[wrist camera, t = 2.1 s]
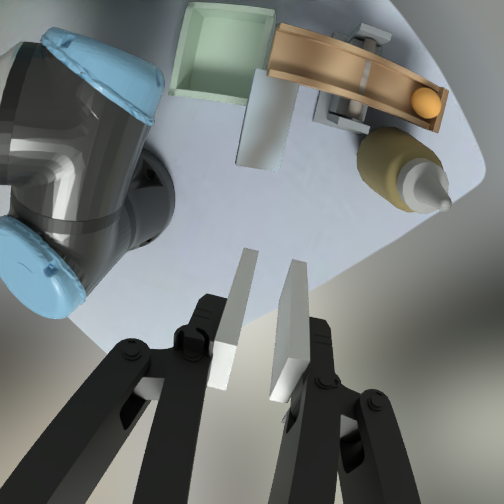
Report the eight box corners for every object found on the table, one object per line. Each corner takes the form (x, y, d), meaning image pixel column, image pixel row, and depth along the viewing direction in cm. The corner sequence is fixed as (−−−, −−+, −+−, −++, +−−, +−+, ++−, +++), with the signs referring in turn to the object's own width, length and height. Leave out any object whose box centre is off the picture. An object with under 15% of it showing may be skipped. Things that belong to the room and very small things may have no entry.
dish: (183, 94, 34) (168, 94, 29) (200, 12, 28) (187, 2, 24) (257, 106, 34) (252, 107, 29) (277, 21, 28) (274, 9, 24)
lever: (232, 155, 30) (237, 170, 25) (262, 15, 22) (274, 1, 18) (388, 187, 34) (413, 206, 29) (420, 73, 26) (451, 76, 22)
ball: (402, 109, 25) (418, 113, 23) (409, 82, 24) (425, 83, 21) (426, 120, 26) (442, 125, 23) (433, 93, 24) (450, 96, 21)
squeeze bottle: (370, 110, 32) (436, 127, 16) (419, 146, 33) (500, 190, 17) (338, 163, 36) (376, 220, 20) (388, 195, 37) (446, 268, 21)
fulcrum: (312, 120, 34) (319, 127, 25) (333, 32, 28) (346, 11, 19) (359, 134, 34) (380, 146, 25) (380, 47, 28) (407, 33, 19)
